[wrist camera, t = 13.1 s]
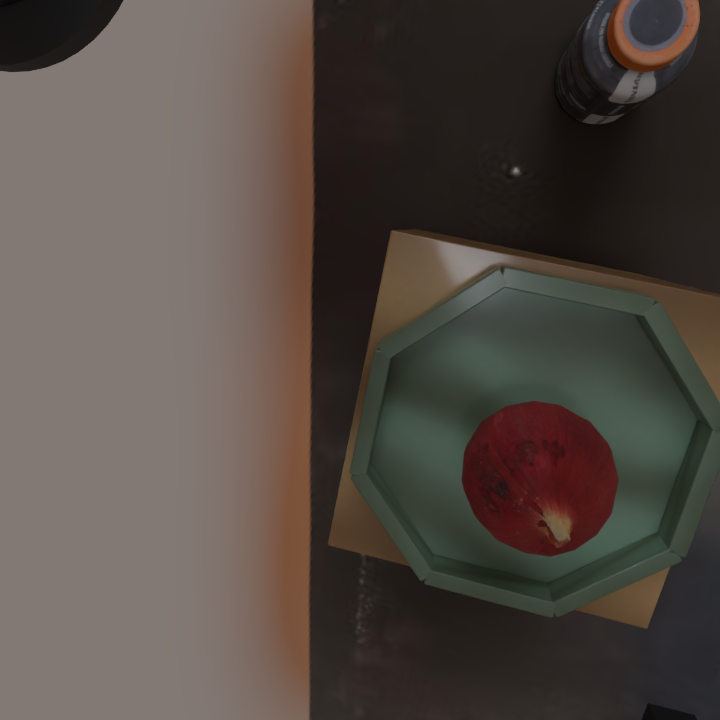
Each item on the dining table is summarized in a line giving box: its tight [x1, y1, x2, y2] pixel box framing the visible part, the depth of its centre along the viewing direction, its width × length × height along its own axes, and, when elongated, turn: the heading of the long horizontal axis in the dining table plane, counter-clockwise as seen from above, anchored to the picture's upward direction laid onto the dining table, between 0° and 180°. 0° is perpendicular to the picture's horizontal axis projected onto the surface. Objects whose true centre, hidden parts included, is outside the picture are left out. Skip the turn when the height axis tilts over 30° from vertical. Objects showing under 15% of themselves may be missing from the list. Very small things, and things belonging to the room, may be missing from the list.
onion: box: [462, 401, 619, 557], centre depth 23 cm, size 6×6×8 cm
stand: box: [328, 229, 720, 628], centre depth 35 cm, size 16×16×20 cm
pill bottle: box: [555, 0, 700, 124], centre depth 34 cm, size 6×6×11 cm
